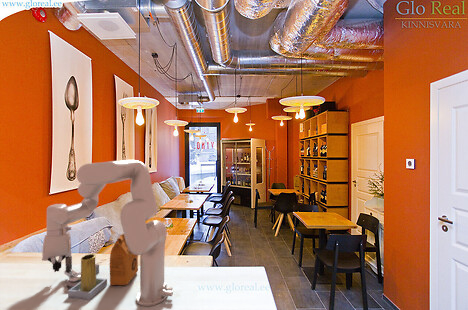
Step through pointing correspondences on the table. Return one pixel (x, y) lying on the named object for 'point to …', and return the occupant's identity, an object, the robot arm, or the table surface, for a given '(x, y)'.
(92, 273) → the vase
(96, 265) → the post
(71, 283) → the disc
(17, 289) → the table surface
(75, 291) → the tray
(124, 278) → the coffee package
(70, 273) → the crank
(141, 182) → the robot arm
